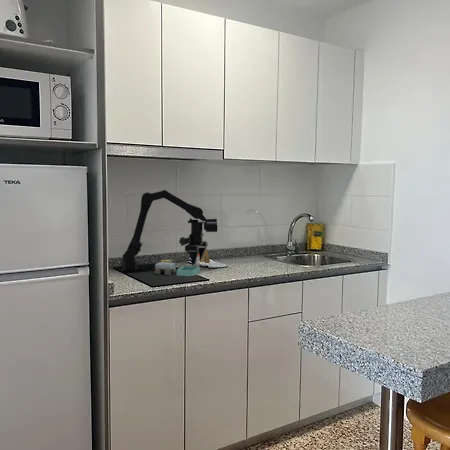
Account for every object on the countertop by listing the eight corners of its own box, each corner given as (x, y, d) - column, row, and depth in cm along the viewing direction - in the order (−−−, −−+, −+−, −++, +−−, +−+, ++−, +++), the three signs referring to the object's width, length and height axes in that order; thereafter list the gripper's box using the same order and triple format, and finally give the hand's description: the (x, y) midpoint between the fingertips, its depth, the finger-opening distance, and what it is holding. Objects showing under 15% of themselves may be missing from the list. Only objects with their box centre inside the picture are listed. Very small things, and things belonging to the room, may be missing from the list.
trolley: (153, 275, 214) (153, 264, 214) (161, 271, 224) (161, 260, 223) (169, 276, 212) (169, 265, 212) (177, 272, 222) (177, 261, 221)
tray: (176, 276, 213) (176, 269, 213) (184, 272, 223) (184, 266, 223) (193, 277, 211) (193, 270, 211) (199, 273, 221) (200, 267, 221)
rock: (215, 261, 243) (212, 255, 252) (206, 249, 240) (203, 244, 250) (199, 273, 243) (196, 267, 252) (189, 261, 240) (187, 255, 249)
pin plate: (188, 270, 226) (188, 270, 226) (192, 268, 232) (192, 268, 232) (200, 271, 225) (200, 270, 225) (203, 269, 231) (203, 268, 231)
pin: (192, 269, 228) (192, 254, 227) (194, 268, 230) (194, 253, 230) (198, 270, 227) (198, 254, 226) (200, 269, 230) (200, 253, 229)
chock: (160, 271, 225) (161, 260, 224) (167, 268, 233) (167, 258, 232) (169, 272, 224) (169, 261, 223) (175, 269, 231) (175, 258, 231)
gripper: (187, 229, 238) (187, 258, 239) (174, 233, 220) (174, 264, 221) (208, 230, 235) (207, 260, 236) (196, 234, 217) (196, 266, 219)
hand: (196, 262), depth 228 cm, fingers open, 9 cm apart
